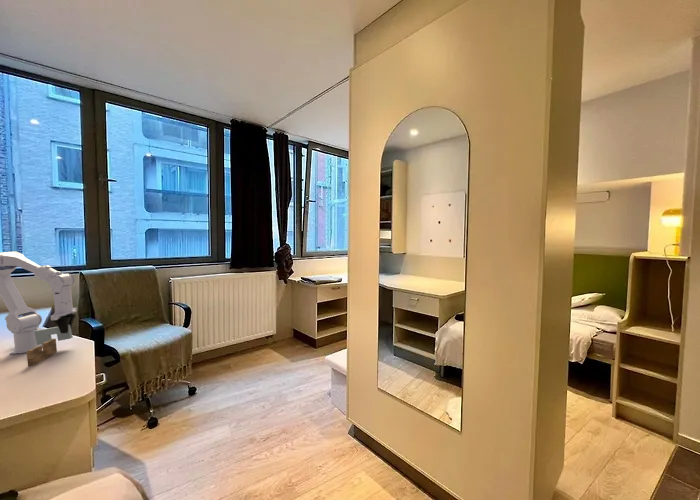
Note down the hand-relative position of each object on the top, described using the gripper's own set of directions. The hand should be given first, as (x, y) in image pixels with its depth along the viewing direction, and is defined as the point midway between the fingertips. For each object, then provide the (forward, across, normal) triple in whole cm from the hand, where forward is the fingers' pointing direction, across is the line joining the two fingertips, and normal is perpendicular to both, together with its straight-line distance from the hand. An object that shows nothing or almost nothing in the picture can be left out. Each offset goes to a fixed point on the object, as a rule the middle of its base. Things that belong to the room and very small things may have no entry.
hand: (65, 332), depth 134 cm
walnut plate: (+7, -11, +2) cm, 13 cm away
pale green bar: (+3, 0, +4) cm, 5 cm away
